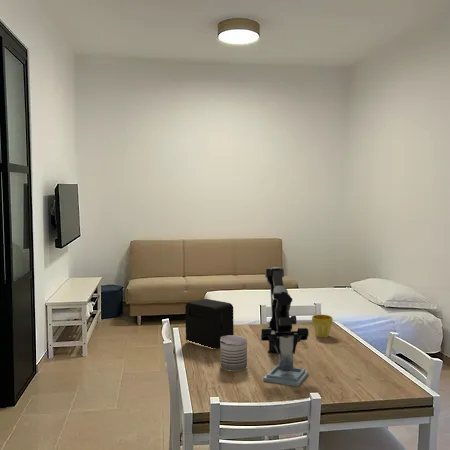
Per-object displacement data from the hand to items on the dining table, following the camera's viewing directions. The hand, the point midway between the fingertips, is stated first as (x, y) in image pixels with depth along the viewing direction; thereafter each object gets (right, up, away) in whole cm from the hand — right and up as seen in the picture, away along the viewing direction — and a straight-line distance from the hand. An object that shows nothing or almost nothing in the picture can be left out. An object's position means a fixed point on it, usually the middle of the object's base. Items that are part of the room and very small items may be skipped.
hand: (286, 353), depth 189 cm
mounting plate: (0, -10, +2) cm, 10 cm away
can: (-20, -9, +15) cm, 27 cm away
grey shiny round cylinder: (0, -6, +2) cm, 7 cm away
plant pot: (+26, -7, +59) cm, 65 cm away
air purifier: (-31, -8, +48) cm, 58 cm away
